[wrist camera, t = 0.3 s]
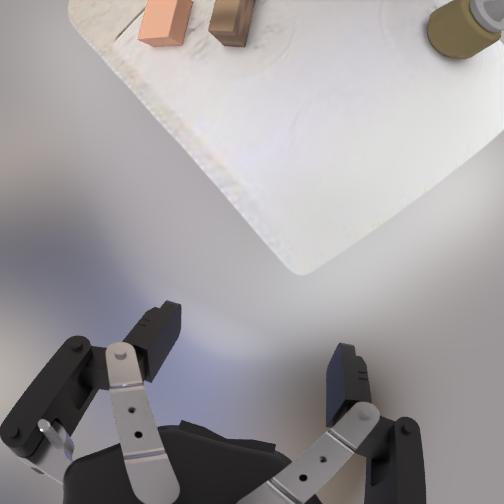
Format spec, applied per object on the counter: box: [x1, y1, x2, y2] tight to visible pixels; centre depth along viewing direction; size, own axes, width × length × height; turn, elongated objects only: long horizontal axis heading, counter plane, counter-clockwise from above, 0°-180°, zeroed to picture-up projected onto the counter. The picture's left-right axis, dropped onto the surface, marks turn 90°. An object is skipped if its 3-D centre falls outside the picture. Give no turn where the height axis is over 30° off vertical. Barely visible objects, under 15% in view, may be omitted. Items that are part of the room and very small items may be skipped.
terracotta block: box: [137, 0, 193, 47], centre depth 29 cm, size 8×5×5 cm, turn 171°
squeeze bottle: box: [427, 0, 504, 59], centre depth 16 cm, size 8×8×18 cm
